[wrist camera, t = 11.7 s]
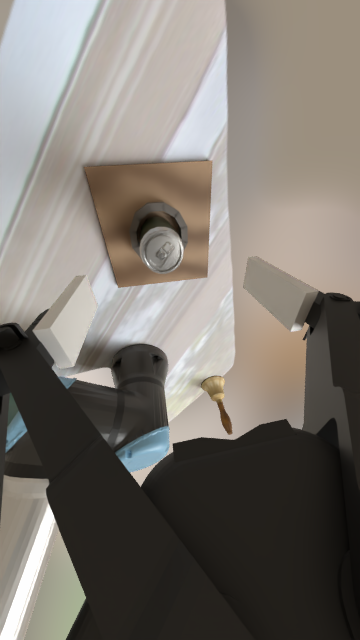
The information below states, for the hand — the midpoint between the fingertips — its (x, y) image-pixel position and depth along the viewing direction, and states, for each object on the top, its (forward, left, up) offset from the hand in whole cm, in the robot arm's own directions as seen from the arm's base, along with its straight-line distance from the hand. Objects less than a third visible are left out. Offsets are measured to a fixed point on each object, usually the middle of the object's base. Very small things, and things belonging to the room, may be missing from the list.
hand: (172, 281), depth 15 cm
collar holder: (0, 0, -21) cm, 21 cm away
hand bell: (-49, -13, -21) cm, 55 cm away
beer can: (0, 0, -20) cm, 20 cm away
